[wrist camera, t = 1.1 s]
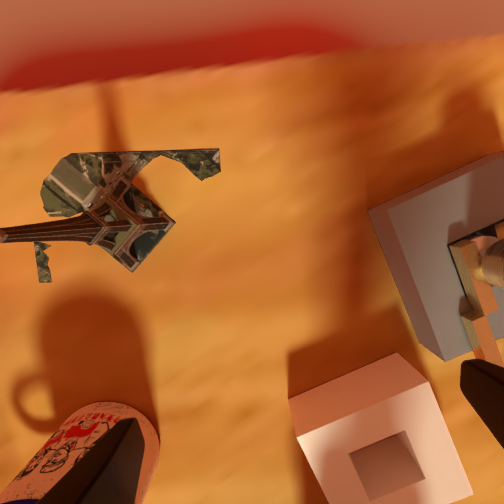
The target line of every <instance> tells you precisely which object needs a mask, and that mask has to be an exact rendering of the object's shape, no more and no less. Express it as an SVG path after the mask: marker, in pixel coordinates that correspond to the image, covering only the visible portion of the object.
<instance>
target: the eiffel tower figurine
mask: <svg viewBox="0 0 504 504" xmlns="http://www.w3.org/2000/svg"><path fill="white" fill-rule="evenodd" d="M160 155H162V156H165V157H168V158H170V159H173V160H176V161H179V162H181V163H183V164H184V165H185V166H186V167H187V168H188V169H189V170H190V171H191V172H192V173H193V174H194V175H195V176H196V177H197V178H199V179H200V180H201V181H202V180H204V179H205V178H208V177H211V176H214V175H215V174H217V173H219V172H221V169H220V155H219V149H203V150H166V151H135V152H101V153H71V154H69V155H68V156H66V157H64V158H62V159H61V160H60V161H59V162H58V163H57V165H56V166H55V167H54V169H53V171H52V172H51V173H50V174H49V175H48V177H47V178H46V179H45V180H44V181H43V185H42V188H41V194H40V195H41V198H42V201H43V204H44V207H43V208H44V209H45V211H46V212H47V214H48V215H49V216H50V217H55V216H65V217H71V216H73V215H76V214H78V213H81V212H83V214H82V215H81V216H78V217H73V218H69V219H64V220H57V221H51V222H44V223H37V224H30V225H22V226H15V227H7V228H0V243H12V242H34V247H35V254H36V262H37V269H38V276H39V283H44V282H52V280H51V273H50V269H49V267H48V265H47V264H48V260H49V257H48V256H47V255H46V254H45V253H44V250H45V249H47V248H48V247H50V246H51V245H48V244H45V243H41V242H39V241H82V242H86V243H87V244H88V245H93V244H96V245H99V246H101V247H102V248H103V249H104V250H105V251H107V252H108V253H109V254H110V255H111V256H113V257H114V258H115V259H116V260H117V261H119V262H120V263H121V264H122V265H123V266H125V267H126V268H127V269H128V270H129V271H131V272H132V273H133V272H134V270H135V269H136V268H137V267H138V266H139V265H140V264H141V262H142V261H143V260H144V259H145V258H146V257H147V255H148V254H149V253H150V252H151V251H152V250H153V248H154V247H155V246H156V245H157V244H158V243H159V242H160V240H161V239H162V238H163V237H164V236H165V235H166V233H167V232H168V231H169V230H170V229H171V228H172V227H173V225H174V224H175V223H176V222H175V221H174V220H173V219H172V218H170V217H169V216H168V215H167V214H166V213H165V212H164V211H162V210H161V209H160V208H159V207H158V206H157V205H155V204H154V203H153V202H152V201H151V200H150V199H149V198H147V197H146V196H145V195H144V194H143V193H142V192H141V191H139V190H138V189H137V188H136V187H135V186H134V185H133V184H131V181H132V180H133V178H134V177H135V176H136V175H137V174H138V173H139V172H140V171H141V170H142V168H143V167H144V166H146V165H147V164H148V163H149V162H150V161H151V160H152V159H154V158H156V157H158V156H160ZM89 210H92V211H91V212H89Z"/></svg>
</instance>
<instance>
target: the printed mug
mask: <svg viewBox="0 0 504 504" xmlns="http://www.w3.org/2000/svg"><path fill="white" fill-rule="evenodd" d="M131 417H135V418H137V420H138V422H139V425H140V428H141V431H142V434H143V437H144V440H145V450H144V456H143V461H142V466H141V472H140V477H139V482H138V488H137V493H136V498H135V504H143V502H144V499H145V496H146V493H147V491H148V488H149V485H150V482H151V479H152V477H153V474H154V471H155V468H156V466H157V463H158V459H159V452H160V447H159V440H158V436H157V433H156V431H155V429H154V427H153V426H152V424H151V423H150V421H149V420H148V419H147V418H146V417H145V416H144V415H143V414H142V413H140V412H139V411H137V410H136V409H134V408H132V407H130V406H127V405H125V404H121V403H116V402H98V403H93V404H89V405H87V406H84V407H82V408H80V409H79V410H77V411H75V412H74V413H73V414H72V415H70V416H69V417H68V418H67V419H66V421H65V422H64V423H63V424H62V425H61V426H60V427H59V429H58V430H57V431H56V432H55V433H54V434H53V435H52V437H51V438H50V439H49V440H48V441H47V442H46V443H45V444H44V446H43V447H42V448H41V449H40V450H39V451H38V452H37V454H36V455H35V456H34V457H33V458H32V459H31V460H30V461H29V463H28V464H27V465H26V466H25V467H24V468H23V469H22V471H21V472H20V473H19V474H18V475H17V476H16V477H15V479H14V480H13V481H12V482H11V483H10V484H9V485H8V486H7V488H6V489H5V490H4V491H3V492H2V493H1V494H0V504H36V503H37V502H38V501H39V500H40V499H41V498H42V497H43V496H44V495H45V494H46V493H47V492H48V491H49V490H50V489H51V488H52V487H53V486H54V485H55V484H56V483H57V482H58V481H59V480H60V479H61V478H62V477H63V476H64V475H65V474H66V473H67V472H68V471H69V470H70V469H71V468H72V467H73V466H74V465H75V464H76V463H77V462H78V461H79V460H80V459H81V458H82V457H83V456H84V455H85V454H86V453H87V452H88V451H89V450H90V449H91V448H92V447H93V446H94V445H95V444H96V443H97V442H98V441H99V440H100V439H101V438H102V437H103V436H104V435H105V434H106V433H107V432H108V431H109V430H110V429H111V428H112V427H113V426H114V425H115V424H116V423H117V422H118V421H119V420H121V419H125V418H131Z"/></svg>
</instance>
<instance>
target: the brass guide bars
mask: <svg viewBox="0 0 504 504" xmlns="http://www.w3.org/2000/svg"><path fill="white" fill-rule="evenodd" d="M494 228H495V231H496V234H497V237H498V240H501V239H504V222H502V223H500V224H498V225H495V226H494ZM449 247H450V250H451V253H452V255H453V258H454V261H455V264H456V267H457V269H458V272H459V275H460V278H461V280H462V283H463V286H464V289H465V292H466V294H467V297H468V300H469V303H470V306H471V308H472V311H470V312H468V313H466V314H463V315H461V316H460V317H461V319H462V322H463V325H464V328H465V330H466V333H467V336H468V338H469V341H470V344H471V347H472V349H473V352H474V355H475V357H476V359H482V360H485V361H487V362H490V363H493V364H496V365H498V366H501V367H504V364H503V362H502V359H501V356H500V353H499V350H498V347H497V345H496V342H495V339H494V336H493V333H492V330H491V328H490V325H489V322H488V319H487V316H486V315H488V314H490V313H493V312H495V311H497V310H499V308H498V305H497V302H496V299H495V297H494V294H493V291H492V288H491V285H490V283H489V282H488V281H487V280H486V279H485V277H484V275H483V273H482V259H481V256H480V253H479V250H478V247H477V244H476V241H468V240H462V241H459V242H457V243H455V244H453V245H451V246H449Z"/></svg>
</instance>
